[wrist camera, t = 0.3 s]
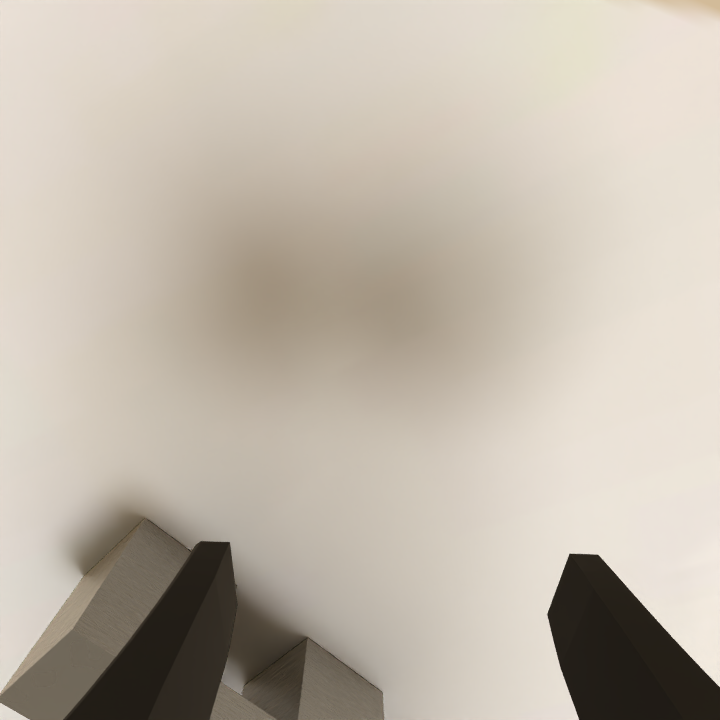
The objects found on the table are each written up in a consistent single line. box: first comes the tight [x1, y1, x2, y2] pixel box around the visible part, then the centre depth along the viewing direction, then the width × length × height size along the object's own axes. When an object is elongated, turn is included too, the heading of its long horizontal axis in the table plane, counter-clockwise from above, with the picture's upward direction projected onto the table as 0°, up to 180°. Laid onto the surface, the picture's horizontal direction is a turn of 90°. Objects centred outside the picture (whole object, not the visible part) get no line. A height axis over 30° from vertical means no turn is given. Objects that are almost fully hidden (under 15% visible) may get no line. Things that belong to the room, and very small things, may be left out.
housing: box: [0, 518, 384, 720], centre depth 22 cm, size 5×16×6 cm, turn 45°
